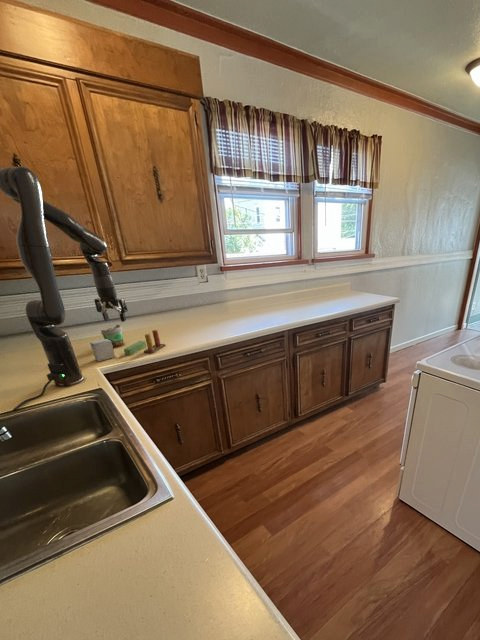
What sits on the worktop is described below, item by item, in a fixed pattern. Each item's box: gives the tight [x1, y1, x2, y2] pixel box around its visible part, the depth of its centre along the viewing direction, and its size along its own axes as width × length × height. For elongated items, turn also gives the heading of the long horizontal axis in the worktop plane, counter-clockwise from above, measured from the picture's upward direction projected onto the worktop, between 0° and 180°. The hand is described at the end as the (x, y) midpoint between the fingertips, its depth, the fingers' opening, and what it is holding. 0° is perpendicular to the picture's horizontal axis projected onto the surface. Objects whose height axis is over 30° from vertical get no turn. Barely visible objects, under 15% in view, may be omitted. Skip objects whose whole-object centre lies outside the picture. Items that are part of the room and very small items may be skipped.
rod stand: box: [143, 329, 166, 354], centre depth 170 cm, size 5×12×9 cm, turn 171°
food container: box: [100, 324, 125, 349], centre depth 175 cm, size 12×6×10 cm, turn 168°
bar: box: [123, 340, 147, 356], centre depth 170 cm, size 3×14×3 cm, turn 171°
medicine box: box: [90, 338, 116, 362], centre depth 158 cm, size 8×4×9 cm, turn 141°
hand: (115, 321), depth 156 cm, fingers open, 8 cm apart
